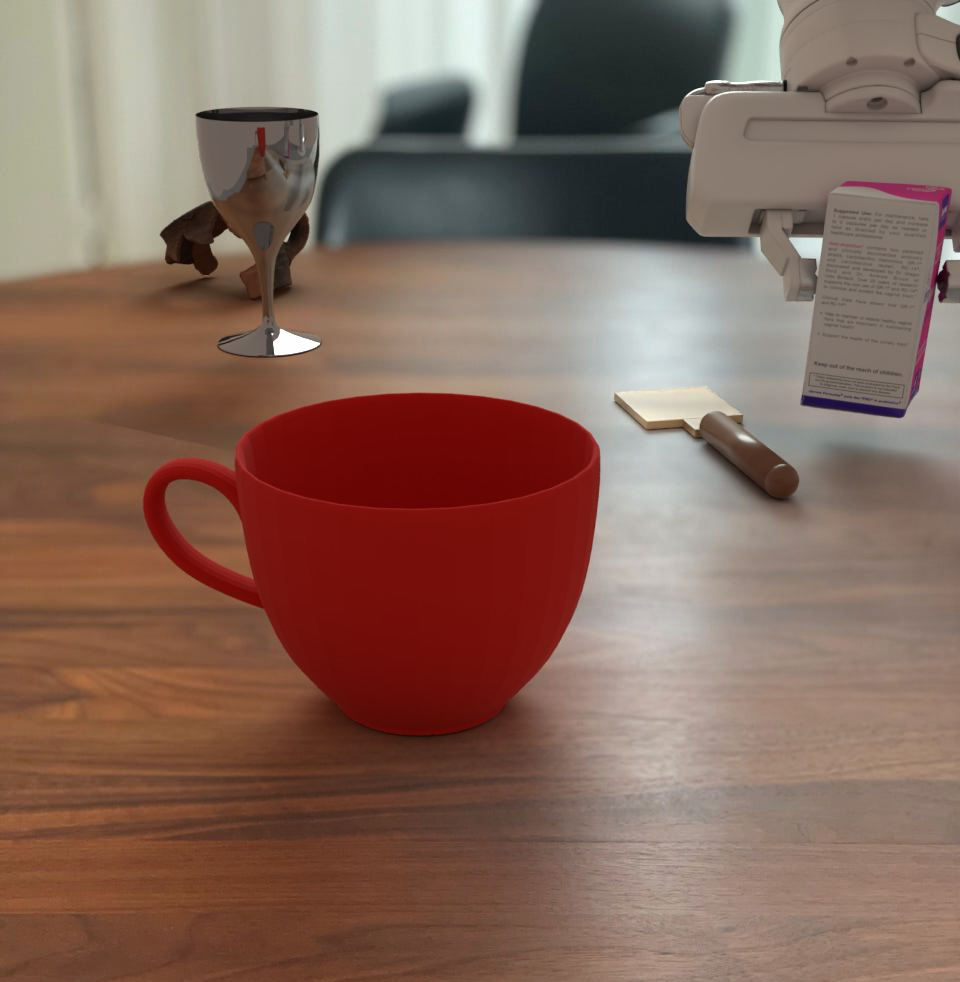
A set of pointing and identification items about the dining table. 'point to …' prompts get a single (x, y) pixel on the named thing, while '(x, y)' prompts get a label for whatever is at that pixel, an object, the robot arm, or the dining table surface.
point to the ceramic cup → (406, 547)
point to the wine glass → (261, 199)
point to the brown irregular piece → (205, 223)
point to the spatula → (712, 431)
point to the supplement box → (874, 296)
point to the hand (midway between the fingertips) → (880, 297)
